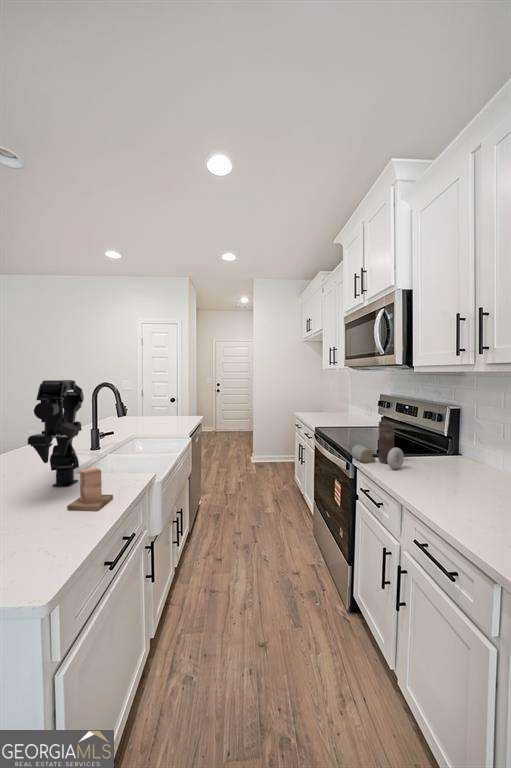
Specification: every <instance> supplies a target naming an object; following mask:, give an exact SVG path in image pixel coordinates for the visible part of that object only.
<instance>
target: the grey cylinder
mask: <svg viewBox="0 0 511 768" xmlns="http://www.w3.org/2000/svg"><path fill="white" fill-rule="evenodd" d="M351 456H352V458H353V459H354V460H356V461H359V462H360V463H363V464H367V463H370V462H371V461H372V462H375V460H376V457H373V456H374V454H373V452H372V450H370V449H369V448H368V447H365V446H364V445H361V444H356V445H353V447H352V449H351Z"/></svg>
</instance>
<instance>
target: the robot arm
mask: <svg viewBox="0 0 511 768" xmlns="http://www.w3.org/2000/svg"><path fill="white" fill-rule="evenodd" d="M84 399H85V398H84V392H83V389H82V388H81V387H80V386H78V385H77V384H76V381H75V380H72V379H66V380H65V379H63V380H62V379H61V380H60V379H59V380H58V379H57V380H52V379H51V380H49V379H48V380H47V379H45V380H43V381H42V382H41V383H40V384H39V388H38V392H37V396H36V401H40V402H39V403H37V404H36V405H35V407H34V408H33V413H34V417H36V418H37V419H39V420H40V421H41V423H44V430H41V433H36V434H34V435H33V434H32V435H30V436H29V437H28V438H27V445H28V446H29V445H30V447H32V448H33V449H34V451H36V453H37V454H38V456H39V457H40V459H41V461H42V462H43V464H48V463H50V471H51V472H53V471H55V483H53V484H52V487H70V486H72V485H73V484H75V483H77V482H78V479H75V470H76V469H78V468H80V461H79V458H78V456H77V453H76V450H75V448H74V447H73V441H74V440H73V438H75V437H77V436H78V435H79V433H80V432H81V431H83V430H82V422H81V421H78V420H77V421H76V417H77V413H78V412H79V410H80V409H81V408H82V404H83V402H84ZM53 439H56V443H57V444H56V445H54V446H53V444H54V443H53ZM52 446H53V447H52ZM51 447H52V453H51V455H50V456H49V454H50V448H51Z"/></svg>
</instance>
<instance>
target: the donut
mask: <svg viewBox="0 0 511 768" xmlns="http://www.w3.org/2000/svg"><path fill="white" fill-rule="evenodd" d="M404 456H405V455H404V452H403V450H402V449H401V448H399V447H395V446H394V448H392V449H391V450H390V451H389V453H388V457H387V461H388V463H387V464H388V466H389V467H390V469H393V470H398V469H400V468H401V467H402V466H403V463H404V459H405V458H404Z"/></svg>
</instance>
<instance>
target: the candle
mask: <svg viewBox="0 0 511 768" xmlns="http://www.w3.org/2000/svg"><path fill="white" fill-rule="evenodd" d="M394 447H395V423H394V422H389V421H378V461H379V462H380V463H382V464H388V461H387V457H388V453H389V451H390V450H391V449H392V448H394Z"/></svg>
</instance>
